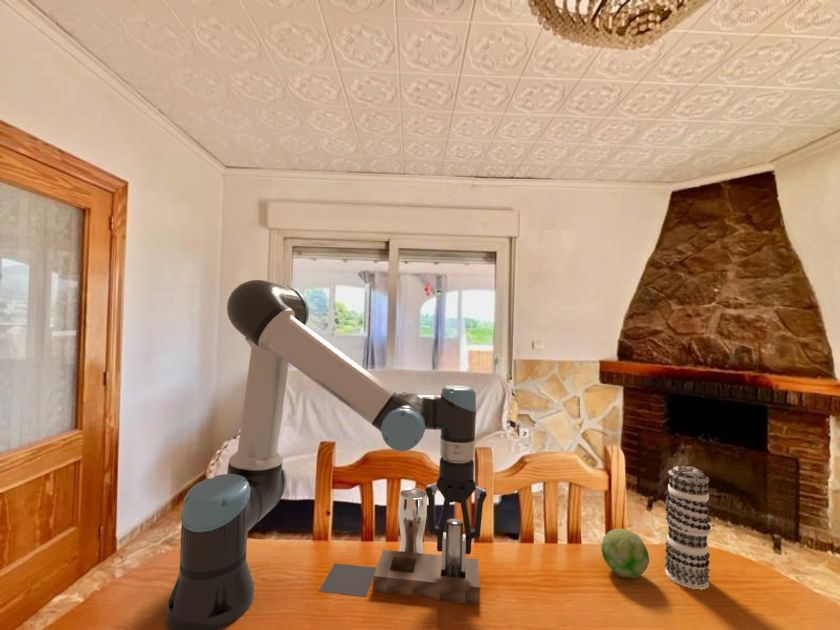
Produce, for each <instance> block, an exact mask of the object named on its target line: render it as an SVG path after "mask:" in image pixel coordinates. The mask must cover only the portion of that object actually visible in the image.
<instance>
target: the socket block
mask: <svg viewBox="0 0 840 630" xmlns="http://www.w3.org/2000/svg"><path fill="white" fill-rule="evenodd" d="M375 568H376V571H375V573H374V577H373V579H372V582H373V583H372V586H373V587H372V591H373V592H376V593H377V592H378V593H386V594H392V595H394V594H395V595H404V596H412V597H420V598H429V599H439V601H442V602H450V603H451V602H452V603H459V604H468V605H477V606H479V605H480V593H481V592H480V590H481V586H480V569H479V568H480V566H479V558H473V557H472V558H469V557H465V572H463V571H462V574H461V578H456V577H447V576H445V570H444V569H442V554H432V553H431V554H430V553H424V552H423V553H413V552H403V551H399V550H393V549H392V550H389V549H383V550H382V552H381V554H380V557H379V560H378V563H377V566H376V567H375Z"/></svg>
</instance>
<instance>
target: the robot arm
mask: <svg viewBox="0 0 840 630" xmlns="http://www.w3.org/2000/svg"><path fill="white" fill-rule="evenodd" d="M226 304H227V305H226V311H227V316H228V319H229V321H230V323H231V324H232V326H233V328H234V329H236V330H237V332H239V333H240V334H241V335H242V336H243V337H244V340H245V342H246V343H247V344H248V345H249V346H250V355H249V363H248V369H247V370H248V371H247V379H246V386H245V391H244V392H245V393H244V400H243V408H242V409H243V410H242V415H241V421H240V429H239V439H238V446H237V450H236V452H235V453H234V454H232V455H231V456H230V457H229V458H228V465H227V472H226V474H218V475H215V476H212V478H210V477H209V478H205V479H203V480H201V481H198V483H196V484H195V485H193V486H192V487H191V488H189V490H188V491H187V493H186V494H185V496H184V499H183V504H182V509H181V514H180V522H181V530H180V533H181V534H180V554H179V557H180V558H179V572H178V575H177V579H176V580H175V583H174V586H173V587H172V592H171V593H170V597H169V598H168V601H167V604H166V605H167V606H166V614H165V615H166V616H165V619H166V624H167V627H169V628H170V630H220V629H223V628H224V627H226V626H229V625H230V624H232V623H234V622H235V621H237V620H238V619H240V618H241V617H242V616H244V615H245V613H247V611H248V610H249V609H250V608H251V606H252V604H253V601H254V597H255V583H254V580H253V578H252V574H251V570H250V568H249V565H248V564H249V563H248V561H247V548H248V547H247V546H248V533H249V531H250V530H251V529H252V528H253V527H254V526H255V525H257V523H258V522H260V521H261V520H262V519H263V518H264V517H265V516H266V515H267V514H268V513H270V512H271V511H272V510H273V509H274V508H275V507H277V505H278V503H279V502H280V501H281V499H282V497H283V496H284V494H285V491H286V488H287V485H288V484H287V481H288V478H287V474H286V470H285V469H284V468H283V456H282V455H281V454H280V453H279V452H278V447H279V440H280V433H281V424H282V416H283V411H284V403H285V402H284V401H285V394H286V388H287V387H286V386H287V380H288V379H287V378H288V371H289V364H290V365H291V366H293V367H294V368H296V370H299V372H301V373H302V374H303V375H305V376H306V377H307V378H309V379H310V380H312V381H313V382H314V383H315V384H316V385H318V386H319V387H321V388H322V389H323V390H325V391H326V392H327V393H329V395H332V396H333V397H334V398H335V399H337V400H338V401H339V402H340V403H342V404H343V405H345V406H346V407H348V408H349V409H350V410H352V411H353V412H354V413H356V414H357V415H358V416H359V417H360V418H363V419H364V420H365V421H366V422H367V423H369V424H370V425H371V426H373V427H374V428H376V429H377V430H378V431H380V432H381V437H382V439H383V441H384V443H385V444H386V445H387V446H388V447H389V448H390V449H392V450H395V451H398V452H406V451H410V450H411V449H413V448H415V447H416V446H417V445H418V444H419V443H420V441H421V440H422V438H423V437H424V434H425V431H426V430H435V431H436V430H438V431H439V430H440V438H439V439H440V441H439V442H440V443H439V444H440V445H439V448H440V449H439V455H440V458H439V469H438V470H439V471H438V472H439V473H438V478H437V480H436V482H434V483H426V486H425V490H424V491H425V492H426V494H427V495H426V497H427V499H428V500H427V505H428V531H429V533H430V534H431V535H432V534H433V535H435V536H436V539H437V540H436V544H437V545H436V551H437V552H440V553H441V555H442V569H444V570H445V559H446V531H445V528H446V523H447V520H448V514H449V508H450V505H451V503H456V504H457V503H458V504H460V506H461V513H462V514H461V515H462V520H463V521H462V522H463V529H464V533H463V538H462V567H461V571H463V572H465V558H466V555H471V552H472V540H473V539H474V538H475V539H478V538H480V537H481V529H482V518H483V507H484V502H485V500H486V499H487V496H488V495H487V489H486V488H485V487H480V486H478V485H476V481H475V479H474V478H475V477H474V476H475V460H474V458H475V453H476V452H475V451H476V449H475V447H476V446H475V444H476V443H475V442H476V419H477V418H476V417H477V397H476V396H477V395H476V394H477V393H476V391H475V389H474V388H472V387H470V386H466V385H465V386H464V385H458V384H457V385H446V386H443V387H442V389H441V392H440V394H426V393H411V392H410V393H409V392H405V391H403V392H396V391H394V390H393V389H392V388H391V387H390V386H388V385H387V384H385V383H384V382H382V381H381V380H380V379H378V378H377V377H376V376H374V375H372V374H371V373H370V372H369V371H368V370H366V369H365V368H364V367H362V366H361V365H359V364H358V363H357V362H355V361H354V360H352V359H351V358H350V357H349V356H347V355H345V353H343V352H342V351H340V350H339V349H338V348H336V347H335V346H333V345H332V344H331V343H330V342H328V341H327V340H325V339H324V338H323V337H322V336H320V335H319V334H317V333H316V332H315V331H313V330H312V329H311V328H309V327H308V326H306V324H307V323H308V321H309V317H310V316H309V315H310V309H309V304H308V301H307V300H306V298H305V297H304V295H303V294H302V293H301V292H300V291H299V290H297V289H295V288H293V287H291V286H290V285H285V284H279V283H274V282H271V281H267V280H264V279H263V280H262V279H252V280H248V281H245V282H243V283H240V284H239V285H238V286H237V287H235V288H234V290H233V291H232V292H231V294H230V296H229V297H228V300H227V303H226ZM437 489H438V491H439V492H440V494H441V495H442V497H443V504H442V508H441V513H440V518H439V522H438V525H437V524H436V495H437ZM473 493H475V498H476V505H475V514H474V515H475V516H474V526H473V528H471V519H470V515H469V513H470V512H469V508H468V499H469V498H470V497H471V496H472V494H473Z"/></svg>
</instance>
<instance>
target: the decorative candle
mask: <svg viewBox="0 0 840 630" xmlns="http://www.w3.org/2000/svg"><path fill="white" fill-rule="evenodd" d="M667 473H668V475H669V477H668V479H669V480H668V481H669V482H668V484H667V489H666V490H665V492H664V496H665V497H666V499H665V503H664V504H665V505H666V506H665V509H664V510H665V513H666V515H665V516H666V517H665V521H666V522H665V523H666V524H667V527H668V528H667V529H668V530H667V532H668V533H667V534H666V536H667V537H666V541H665V546H666V549H664V551H665V553H666V555H664V560H665V563H664V566H665V569H664V572H665V575H666V577H667V578H669V580H670V581H672V582H674V583H675V584H677V585H679V586H681V585H682V587H683V588H686V587H688V588H687V589H690V588H692V589H691V590H694V589H700V590H699V591H704V590H707V589H708V588H709V586H710V583H709V579H710V576H709V574H710V571H711V569H710V568H709V565H710V564H711V562H710V560H709V559H710V557H711V554H710V553H709V545H708V536H709V535H710V533H711V531H710V530H711V528H712V526H711V525H710V524H709V523H711V520H712V519H711V518H710V517H709V516H708V515H710V514H712V513H713V510H712V509H710V508H711V507H713V504H712V503H713V502H711V501H710V500H709V499H710V493H709V490H708V489H709V482H710V481H711V480H710V478H709V477H708V476H706V474H705V473H704V472H703V470H700V469H699V468H696V467H693V466H690V465H689V466H688V465H675V466H674V467H672V469H669V470H668V471H667ZM706 588H707V589H706ZM703 589H704V590H703Z"/></svg>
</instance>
